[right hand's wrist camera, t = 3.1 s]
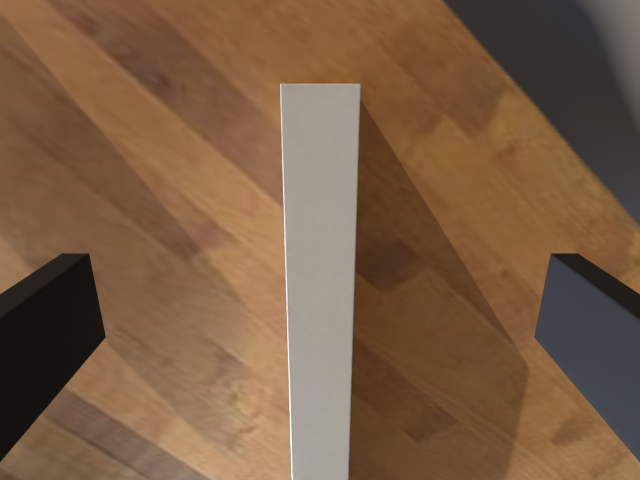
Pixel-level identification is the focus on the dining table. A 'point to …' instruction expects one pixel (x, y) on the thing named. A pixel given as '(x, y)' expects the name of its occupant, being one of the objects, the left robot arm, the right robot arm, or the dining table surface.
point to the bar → (320, 270)
